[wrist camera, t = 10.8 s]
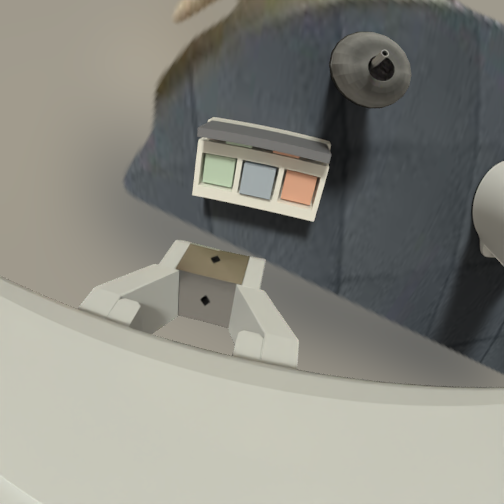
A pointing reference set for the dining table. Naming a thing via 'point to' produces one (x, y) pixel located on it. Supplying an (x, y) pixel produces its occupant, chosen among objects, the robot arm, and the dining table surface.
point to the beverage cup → (370, 69)
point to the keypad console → (265, 152)
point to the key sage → (219, 170)
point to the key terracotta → (298, 187)
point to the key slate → (257, 179)
